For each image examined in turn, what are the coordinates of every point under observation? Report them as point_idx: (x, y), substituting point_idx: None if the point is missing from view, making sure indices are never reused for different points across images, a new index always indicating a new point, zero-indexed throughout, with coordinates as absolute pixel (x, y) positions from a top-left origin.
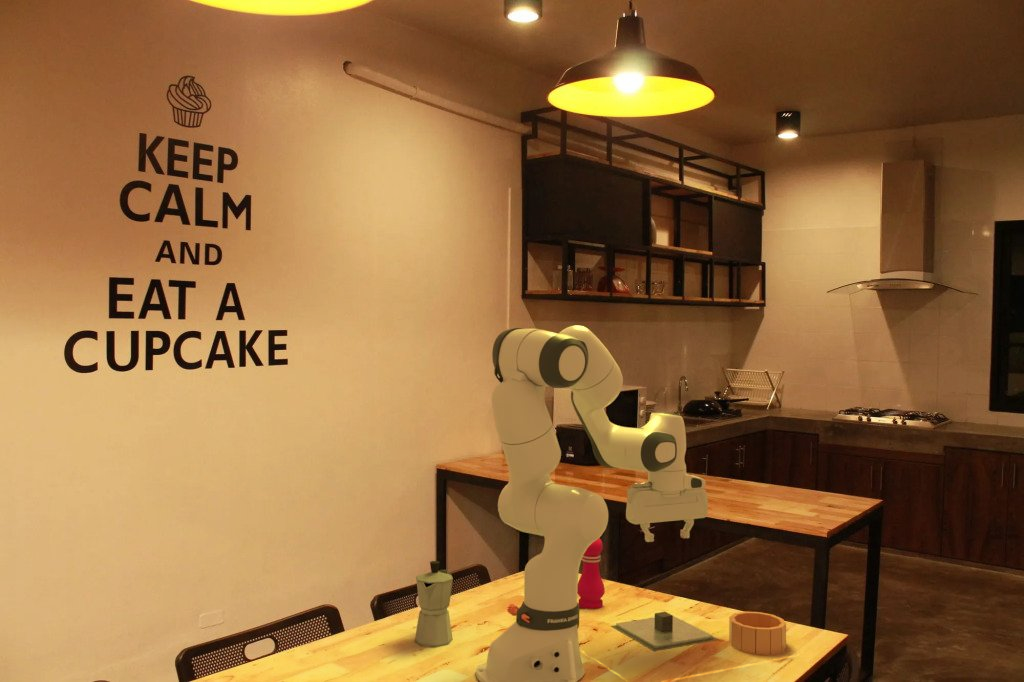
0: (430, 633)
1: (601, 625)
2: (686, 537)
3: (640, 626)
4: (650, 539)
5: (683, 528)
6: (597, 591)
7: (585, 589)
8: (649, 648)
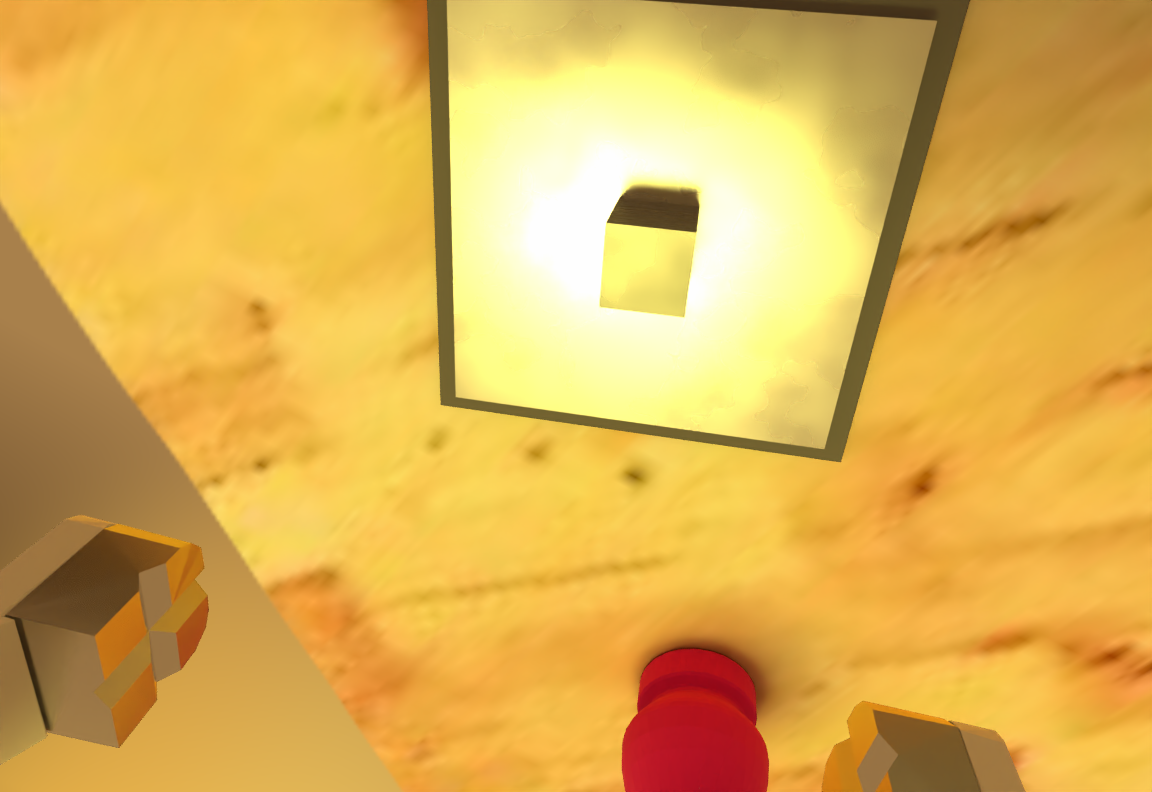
0: None
1: (846, 505)
2: (135, 530)
3: (740, 346)
4: (967, 753)
5: (30, 744)
6: (706, 723)
7: (758, 762)
8: (954, 48)
